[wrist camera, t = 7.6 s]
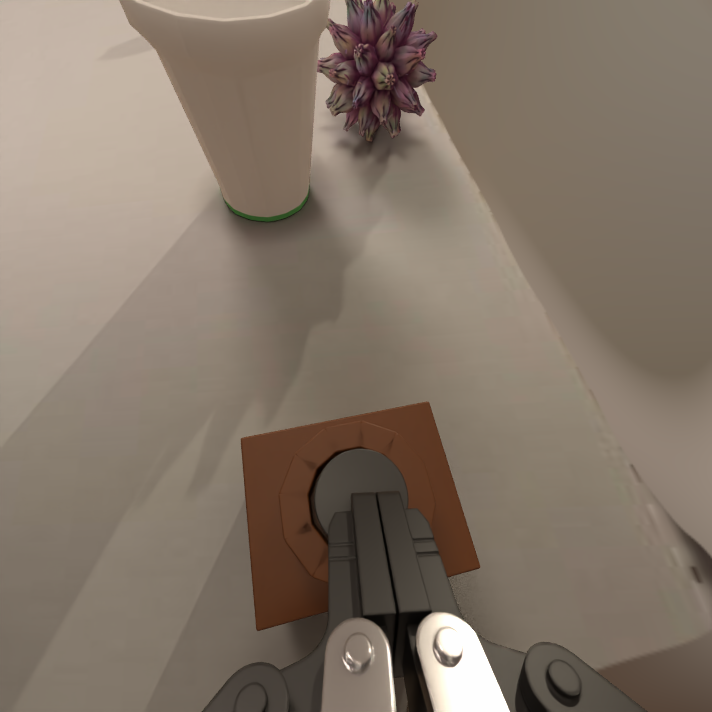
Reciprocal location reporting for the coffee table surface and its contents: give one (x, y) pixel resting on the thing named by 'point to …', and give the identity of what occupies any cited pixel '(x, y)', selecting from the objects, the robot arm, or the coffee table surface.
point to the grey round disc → (354, 482)
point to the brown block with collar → (297, 511)
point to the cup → (244, 90)
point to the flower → (376, 65)
